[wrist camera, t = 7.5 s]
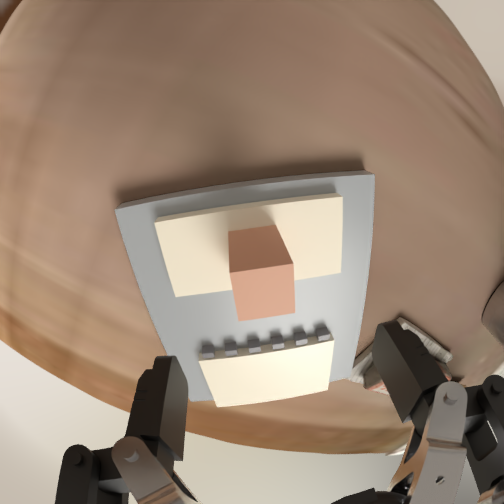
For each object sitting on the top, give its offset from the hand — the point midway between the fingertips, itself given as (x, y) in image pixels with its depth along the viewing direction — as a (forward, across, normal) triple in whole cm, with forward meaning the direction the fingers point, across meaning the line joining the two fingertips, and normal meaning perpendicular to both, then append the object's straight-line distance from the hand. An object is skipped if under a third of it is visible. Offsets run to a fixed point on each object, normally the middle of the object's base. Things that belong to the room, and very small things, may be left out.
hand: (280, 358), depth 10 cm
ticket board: (+12, 0, +8) cm, 14 cm away
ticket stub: (+10, 0, 0) cm, 10 cm away
